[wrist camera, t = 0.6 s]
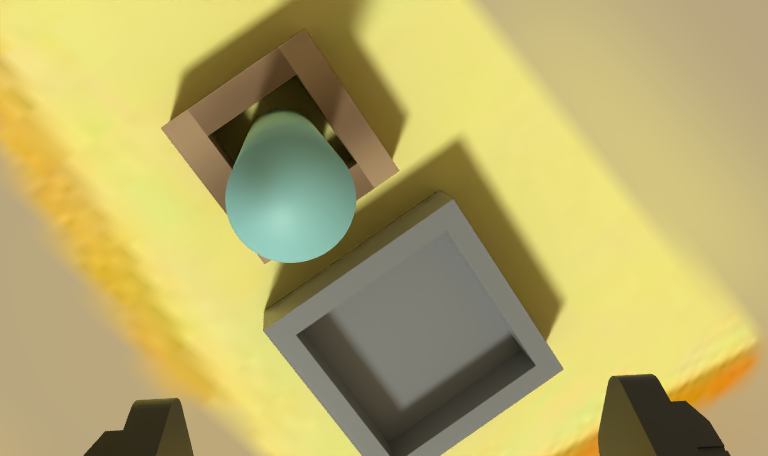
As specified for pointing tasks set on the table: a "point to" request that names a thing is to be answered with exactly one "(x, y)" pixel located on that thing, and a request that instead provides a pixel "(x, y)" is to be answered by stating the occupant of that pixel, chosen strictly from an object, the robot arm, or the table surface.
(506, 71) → the table surface
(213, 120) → the collar block
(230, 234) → the table surface
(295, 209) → the dowel
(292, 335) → the tray
